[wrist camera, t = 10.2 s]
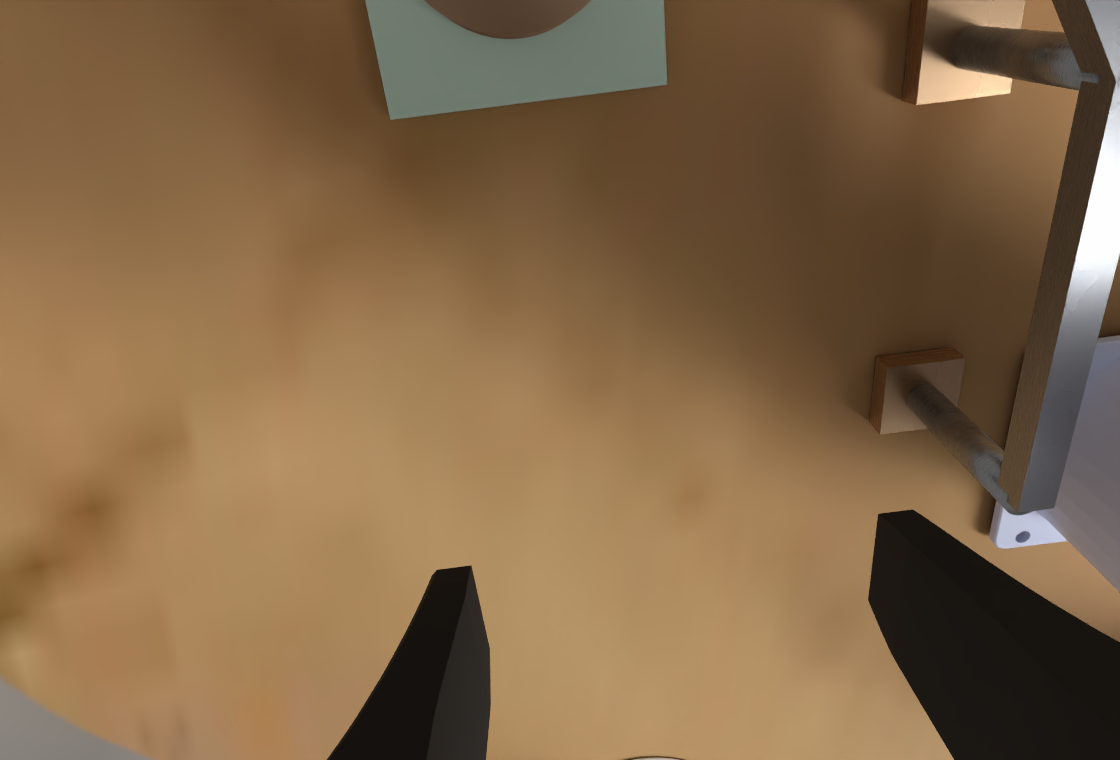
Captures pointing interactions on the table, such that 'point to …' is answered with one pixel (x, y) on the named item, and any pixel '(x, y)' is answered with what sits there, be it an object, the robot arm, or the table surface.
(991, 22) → the buzz wire
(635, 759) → the teacup and saucer
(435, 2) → the brown domed cylinder
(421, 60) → the pad
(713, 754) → the table surface
